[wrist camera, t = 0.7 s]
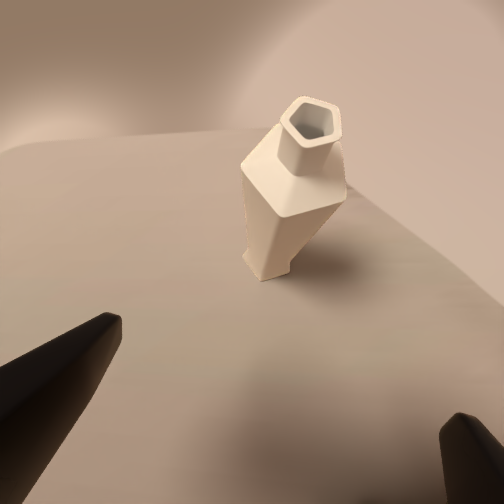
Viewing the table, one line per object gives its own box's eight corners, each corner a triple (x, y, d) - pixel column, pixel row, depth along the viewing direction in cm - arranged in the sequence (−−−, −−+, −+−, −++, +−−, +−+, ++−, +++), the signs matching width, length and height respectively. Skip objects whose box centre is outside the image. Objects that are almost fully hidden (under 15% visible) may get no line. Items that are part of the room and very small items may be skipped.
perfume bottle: (276, 298, 24) (338, 208, 10) (230, 264, 24) (224, 134, 10) (308, 252, 25) (405, 113, 11) (264, 222, 26) (300, 53, 12)
